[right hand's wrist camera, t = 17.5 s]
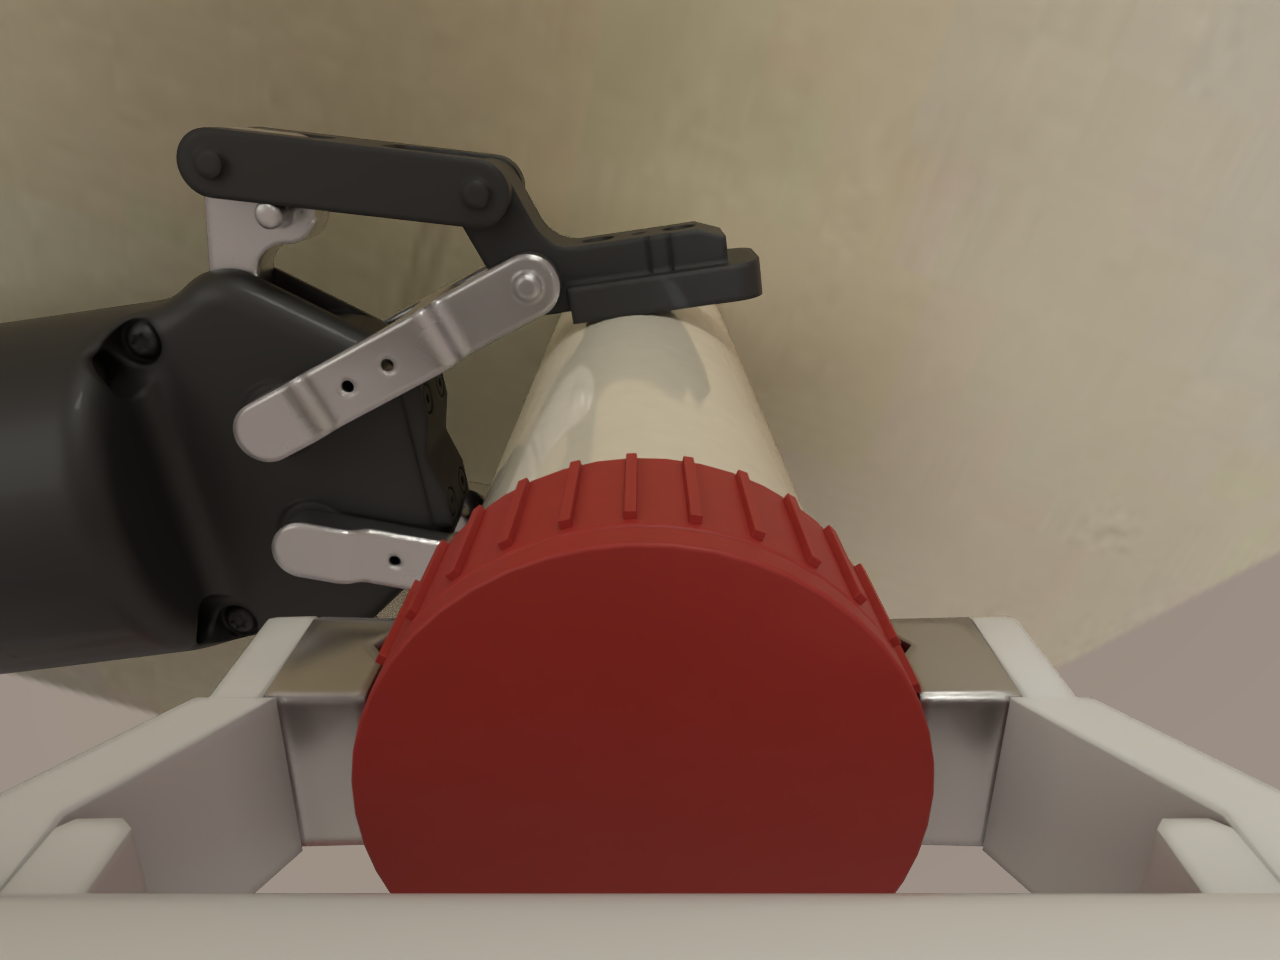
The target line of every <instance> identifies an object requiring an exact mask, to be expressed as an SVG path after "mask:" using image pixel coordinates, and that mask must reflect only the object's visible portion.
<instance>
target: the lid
mask: <svg viewBox="0 0 1280 960" xmlns="http://www.w3.org/2000/svg"><path fill="white" fill-rule="evenodd" d="M900 644H901V641H900V639H899V637H898V635H897V633H896V631H895V629H894V627H893V625H892V623H891V621H890V619H889V617H888V615H887V613H886V611H885V609H884V607H883V605H882V603H881V601H880V599H879V597H878V595H877V593H876V591H875V589H874V587H873V585H872V583H871V581H870V579H869V577H868V575H867V573H866V571H865V569H864V568H863V566H862V565H861V564H858V565H856V566H853V564H852V563H851V562H850V560H849V559H848V557H847V555H846V552H845V550H844V548H843V546H842V544H841V542H840V540H839V538H838V536H837V533H836V531H835V530H834V529H833V528H832V527H831V526H830V525H828V526H827V527H826V528H825V529H823V528H822V527H821V526H820V525H819V524H818V523H817V522H816V521H815V520H814V519H813V518H811V517H810V516H809V515H807V514H806V513H805V512H804V511H802V510H801V509H800V507H799V505H798V502H797V500H796V498H795V497H794V496H792V495H790V494H789V493H787V495H786V496H785V497H782V496H780V495H779V494H777V493H775V492H773V491H772V490H770V489H768V488H767V487H765V486H763V485H761V484H758V483H756V482H754V481H751V480H750V479H749V476H748V473H747V472H744V471H742V470H738V471H737V473H736V474H735V473H732V472H728V471H725V470H721V469H717V468H714V467H710V466H707V465H703V464H699V463H694V458H693V457H688V456H683V460H682V461H678V460H672V459H656V458H637V453H627V454H626V459H616V460H606V461H597V462H593V463H588V464H584V465H582V464H581V461H580V460H577V461H573V462H570V466H569V468H566V469H563V470H560V471H557V472H555V473H552V474H549V475H546V476H544V477H541V478H538V479H535V480H533V481H531V482H529V480H528V478H524V479H522V480H520V481H518V483H517V486H516V489H515V490H513V491H512V492H510V493H508V494H506V495H504V496H502V497H501V498H500V499H498V500H497V501H495V502H494V503H492V504H491V505H490V506H488V507H487V508H485V509H484V508H483V507H482V506H481V505H479V506H477V507H476V508H475V509H473V511H472V514H471V516H470V518H469V520H468V523H467V524H466V525H465V526H464V527H463V528H462V529H461V530H460V531H459V532H458V533H457V534H456V535H455V536H454V537H453V538H452V539H451V541H450V542H449V543H447V542H446V541H445V540H441V541H440V543H439V544H438V545H437V547H436V549H435V551H434V553H433V555H432V557H431V559H430V561H429V564H428V566H427V568H426V570H425V572H424V574H423V576H422V578H421V580H420V581H418V580H415V581H414V583H413V585H412V587H411V589H410V591H409V593H408V595H407V597H406V599H405V601H404V603H403V605H402V607H401V609H400V611H399V613H398V615H397V617H396V619H395V621H394V623H393V625H392V627H391V629H390V631H389V633H388V635H387V637H386V640H385V642H384V644H383V646H382V648H381V650H380V652H379V654H378V656H377V658H376V660H375V662H376V663H378V664H380V665H383V666H382V669H381V671H380V672H379V674H378V676H377V679H376V681H375V683H374V685H373V687H372V689H371V692H370V694H369V697H368V699H367V702H366V704H365V707H364V709H363V712H362V714H361V717H360V720H359V724H358V729H357V733H356V738H355V743H354V747H353V756H352V777H351V783H352V792H353V800H354V809H355V815H356V819H357V822H358V826H359V829H360V833H361V836H362V840H363V843H364V845H365V848H366V850H367V852H368V854H369V857H370V859H371V861H372V863H373V865H374V867H375V870H376V872H377V873H378V875H379V876H380V878H381V879H382V881H383V882H384V884H385V886H386V887H387V889H388V890H389V892H390V893H896V891H897V890H898V888H899V887H900V886H901V884H902V883H903V881H904V880H905V878H906V876H907V874H908V872H909V870H910V868H911V866H912V864H913V863H914V861H915V859H916V857H917V855H918V852H919V850H920V847H921V844H922V841H923V838H924V835H925V832H926V830H927V827H928V822H929V817H930V811H931V806H932V800H933V794H934V758H933V751H932V744H931V738H930V731H929V728H928V725H927V722H926V719H925V716H924V713H923V710H922V706H921V703H920V700H919V698H918V696H917V693H920V692H922V690H921V687H920V684H919V681H918V679H917V677H916V675H915V673H914V671H913V669H912V667H911V665H910V663H909V661H908V659H907V657H906V655H905V653H904V651H903V649H902V647H901V645H900Z"/></svg>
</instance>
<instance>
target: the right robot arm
mask: <svg viewBox="0 0 1280 960" xmlns="http://www.w3.org/2000/svg"><path fill="white" fill-rule="evenodd" d="M395 619H396V618H344V617H320V618H318V617H316V616H303V617H276V618H271V619H268V620H267V621H266V623H265V624H264V625H263V627H262V628H261V629H260V631H259V632H258V633H257V635H256V636H255V637H254V638H253V640H252V641H251V642H250V644H249V645H248V646H247V648H246V649H245V650H244V652H243V653H242V654H241V656H240V657H239V658H238V660H237V661H236V662H235V664H234V665H233V666H232V667H231V669H230V670H229V671H228V673H227V674H226V675H225V677H224V678H223V679H222V681H221V682H220V683H219V685H218V686H217V687H216V689H215V690H214V691H213V693H212V694H211V695H210V697H194V698H192V699H190V700H188V701H186V702H184V703H182V704H180V705H178V706H176V707H174V708H172V709H170V710H168V711H166V712H164V713H162V714H160V715H158V716H156V717H154V718H152V719H150V720H148V721H146V722H144V723H142V724H140V725H138V726H136V727H134V728H132V729H130V730H128V731H126V732H124V733H122V734H120V735H118V736H116V737H114V738H112V739H110V740H108V741H106V742H104V743H102V744H99V745H97V746H95V747H93V748H91V749H89V750H87V751H85V752H83V753H81V754H79V755H77V756H75V757H73V758H71V759H69V760H67V761H65V762H63V763H61V764H59V765H57V766H55V767H53V768H51V769H49V770H47V771H45V772H43V773H41V774H39V775H37V776H35V777H33V778H31V779H29V780H27V781H25V782H23V783H21V784H19V785H17V786H14V787H13V788H11V789H8V790H6V791H4V792H2V793H0V960H1280V790H1278V789H1276V788H1274V787H1272V786H1270V785H1268V784H1266V783H1264V782H1262V781H1260V780H1258V779H1256V778H1254V777H1252V776H1250V775H1247V774H1245V773H1243V772H1241V771H1239V770H1237V769H1235V768H1233V767H1231V766H1229V765H1227V764H1225V763H1223V762H1221V761H1219V760H1217V759H1215V758H1213V757H1211V756H1209V755H1207V754H1205V753H1203V752H1201V751H1199V750H1197V749H1195V748H1193V747H1191V746H1189V745H1187V744H1185V743H1183V742H1181V741H1179V740H1176V739H1174V738H1172V737H1170V736H1168V735H1166V734H1164V733H1162V732H1160V731H1158V730H1156V729H1154V728H1152V727H1150V726H1148V725H1146V724H1144V723H1142V722H1140V721H1138V720H1136V719H1134V718H1132V717H1130V716H1128V715H1126V714H1124V713H1122V712H1120V711H1118V710H1116V709H1114V708H1112V707H1110V706H1108V705H1106V704H1103V703H1101V702H1099V701H1097V700H1095V699H1093V698H1091V697H1076V696H1075V694H1074V693H1073V692H1072V690H1071V689H1070V688H1069V687H1068V685H1067V684H1066V683H1065V681H1064V680H1063V679H1062V677H1061V676H1060V675H1059V674H1058V672H1057V671H1056V670H1055V668H1054V667H1053V666H1052V664H1051V663H1050V662H1049V661H1048V659H1047V658H1046V657H1045V655H1044V654H1043V653H1042V652H1041V650H1040V649H1039V648H1038V646H1037V645H1036V644H1035V642H1034V641H1033V640H1032V639H1031V637H1030V636H1029V635H1028V633H1027V632H1026V631H1025V630H1024V628H1023V627H1022V626H1021V624H1020V623H1019V622H1018V621H1017V620H1016V619H1014V618H1012V617H1009V616H996V617H972V618H969V617H960V618H919V619H890V621H891V623H892V625H893V627H894V629H895V631H896V633H897V635H898V637H899V639H900V641H901V644H900V645H901V647H902V649H903V651H904V653H905V655H906V657H907V659H908V661H909V663H910V665H911V667H912V669H913V671H914V673H915V675H916V677H917V679H918V681H919V684H920V687H921V690H922V692H920V693H917V696H918V698H919V700H920V703H921V706H922V710H923V713H924V716H925V719H926V722H927V725H928V728H929V731H930V738H931V744H932V751H933V758H934V794H933V800H932V806H931V811H930V817H929V822H928V827H927V830H926V832H925V835H924V838H923V841H922V844H921V845H953V846H983V851H984V852H986V853H987V854H988V855H989V856H990V857H991V858H992V859H994V860H995V861H996V862H997V863H998V864H999V865H1000V866H1001V867H1003V868H1004V869H1005V870H1006V871H1007V872H1008V873H1009V874H1010V875H1012V876H1013V877H1014V878H1015V879H1016V880H1017V881H1018V882H1019V883H1021V884H1022V885H1023V886H1024V887H1025V888H1026V889H1027V890H1028V891H1030V892H1031V893H255V892H256V891H258V890H259V889H260V888H261V887H262V886H263V885H264V884H265V883H267V882H268V881H269V880H270V879H271V878H272V877H273V876H274V875H276V874H277V873H278V872H279V871H280V870H281V869H282V868H283V867H285V866H286V865H287V864H288V863H289V862H290V861H291V860H292V859H294V858H295V857H296V856H297V855H298V854H299V853H300V852H301V851H302V846H330V845H364V843H363V840H362V836H361V833H360V829H359V826H358V822H357V819H356V815H355V809H354V800H353V792H352V783H351V777H352V756H353V747H354V743H355V738H356V733H357V729H358V724H359V720H360V717H361V714H362V712H363V709H364V707H365V704H366V702H367V699H368V697H369V694H370V692H371V689H372V687H373V685H374V683H375V681H376V679H377V676H378V674H379V672H380V671H381V669H382V666H383V665H380V664H378V663H376V662H375V660H376V658H377V656H378V654H379V652H380V650H381V648H382V646H383V644H384V642H385V640H386V637H387V635H388V633H389V631H390V629H391V627H392V625H393V623H394V621H395Z"/></svg>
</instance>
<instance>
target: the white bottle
mask: <svg viewBox="0 0 1280 960" xmlns="http://www.w3.org/2000/svg"><path fill="white" fill-rule="evenodd" d="M627 453H637V458H656V459H672V460H678V461H682V460H683V456H688V457H693V458H694V463H699V464H703V465H707V466H710V467H714V468H717V469H721V470H725V471H728V472H732V473H735V474H736V473H737V471H738V470H742V471H744V472H747V473H748V476H749V479H750V480H751V481H754V482H756V483H758V484H761V485H763V486H765V487H767V488H768V489H770V490H772V491H773V492H775V493H777V494H779V495H780V496H782V497H785V496H786V495H787V493H789V494H790V495H792V496H794V497H795V498H796V500H797V502H798V505H799V507H800V509H801V510H802V511H804V510H803V507H802V505H801V503H800V500H799V498H798V495H797V493H796V491H795V488H794V486H793V484H792V481H791V479H790V477H789V474H788V472H787V469H786V467H785V465H784V462H783V460H782V458H781V455H780V453H779V451H778V448H777V446H776V443H775V441H774V439H773V436H772V434H771V432H770V429H769V427H768V425H767V422H766V420H765V418H764V415H763V413H762V410H761V408H760V406H759V403H758V401H757V399H756V396H755V394H754V392H753V389H752V387H751V384H750V382H749V380H748V377H747V375H746V373H745V370H744V368H743V366H742V363H741V361H740V358H739V356H738V354H737V351H736V349H735V347H734V344H733V342H732V340H731V337H730V335H729V333H728V330H727V328H726V325H725V323H724V321H723V318H722V316H721V314H720V311H719V309H718V307H717V305H716V304H713V305H706V306H699V307H692V308H685V309H678V310H671V311H664V312H657V313H650V314H643V315H634V316H624V317H618V318H613V319H608V320H600V321H593V322H586V323H579V324H573V319H572V313H571V311H570V312H563V313H561V315H560V318H559V320H558V322H557V325H556V327H555V330H554V332H553V335H552V337H551V339H550V342H549V344H548V347H547V349H546V352H545V354H544V356H543V359H542V361H541V364H540V366H539V369H538V371H537V373H536V376H535V378H534V381H533V383H532V386H531V388H530V390H529V393H528V395H527V398H526V400H525V403H524V405H523V407H522V410H521V412H520V415H519V417H518V420H517V422H516V424H515V427H514V429H513V432H512V434H511V437H510V439H509V442H508V444H507V446H506V449H505V451H504V454H503V456H502V459H501V461H500V463H499V466H498V468H497V471H496V473H495V476H494V478H493V480H492V483H491V485H490V488H489V490H488V493H487V495H486V497H485V500H484V502H483V505H482V507H483V508H484V509H485V508H487V507H488V506H490V505H491V504H492V503H494V502H495V501H497V500H498V499H500V498H501V497H502V496H504V495H506V494H508V493H510V492H512V491H513V490H515V489H516V486H517V483H518V481H520V480H522V479H524V478H528V480H529V482H531V481H533V480H535V479H538V478H541V477H544V476H546V475H549V474H552V473H555V472H557V471H560V470H563V469H566V468H569V466H570V462H573V461H577V460H580V461H581V464H582V465H584V464H588V463H593V462H597V461H606V460H616V459H626V454H627Z"/></svg>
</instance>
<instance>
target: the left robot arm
mask: <svg viewBox="0 0 1280 960" xmlns="http://www.w3.org/2000/svg"><path fill="white" fill-rule="evenodd" d="M177 165H178V169H179V171H180V174H181V176H182V177H183V179H184V180H185V182H186V183H187V184H188V185H189V186H190V187H191V188H192V189H193V190H194V191H196V192H197V193H199V194H201V195H203V196H205V208H206V224H207V239H208V254H209V270H210V271H209V272H206V273H204V274H202V275H200V276H198V277H196V278H195V279H194V280H192V281H191V282H190V283H189V284H188V285H187V286H186V287H185V288H183V289H182V290H181V291H180V292H179V293H178V294H176V295H175V296H173V297H172V298H169V299H165V300H159V301H152V302H146V303H139V304H132V305H125V306H118V307H111V308H104V309H98V310H91V311H84V312H77V313H70V314H63V315H56V316H50V317H43V318H36V319H29V320H22V321H15V322H8V323H1V324H0V674H5V673H13V672H22V671H30V670H38V669H46V668H54V667H62V666H70V665H78V664H86V663H94V662H102V661H110V660H118V659H126V658H134V657H142V656H150V655H158V654H167V653H175V652H183V651H190V650H196V649H201V648H206V647H210V646H213V645H217V644H221V643H224V642H228V641H231V640H235V639H238V638H242V637H246V636H251V635H257V633H258V632H259V631H260V629H261V628H262V627H263V625H264V624H265V623H266V621H267V620H268V619H271V618H276V617H303V616H316V617H318V618H320V617H344V618H378V617H377V616H376V615H377V614H378V613H379V612H380V611H381V610H382V609H383V608H385V607H386V606H387V605H388V604H389V603H390V602H391V601H392V600H393V599H394V598H395V597H396V596H397V595H398V594H399V593H400V592H401V591H403V590H404V589H408V590H410V589H411V587H412V585H413V583H414V581H415V580H418V581H420V580H421V578H422V576H423V574H424V572H425V570H426V568H427V566H428V564H429V561H430V559H431V557H432V555H433V553H434V551H435V549H436V547H437V545H438V544H439V543H440V541H441V540H445V541H446V542H447V543H449V542H450V541H451V539H452V538H453V537H454V536H455V535H456V534H457V533H458V532H459V531H460V530H461V529H462V528H463V527H464V526H465V525H466V524H467V523H468V520H469V518H470V516H471V514H472V511H473V509H475V508H476V507H477V506H479V505H481V506H482V505H483V502H484V500H485V497H486V495H487V493H488V490H489V488H490V485H487V484H482V483H476V482H471V481H467V478H466V474H465V469H464V465H463V460H462V458H461V456H460V454H459V452H458V450H457V449H456V447H455V445H454V443H453V441H452V439H451V437H450V435H449V433H448V432H447V429H446V409H447V390H446V386H445V382H444V377H443V372H445V371H446V370H448V369H450V368H451V367H453V366H454V365H456V364H457V363H459V362H460V361H461V360H463V359H464V358H466V357H467V356H469V355H470V354H472V353H474V352H475V351H477V350H479V349H481V348H483V347H485V346H487V345H489V344H490V343H492V342H494V341H496V340H498V339H500V338H502V337H504V336H506V335H507V334H509V333H511V332H513V331H515V330H517V329H519V328H521V327H523V326H524V325H526V324H528V323H530V322H532V321H534V320H536V319H538V318H540V317H541V316H543V315H549V314H556V313H563V312H570V311H571V313H572V319H573V324H579V323H586V322H593V321H600V320H608V319H613V318H618V317H624V316H634V315H643V314H650V313H657V312H664V311H671V310H678V309H685V308H692V307H699V306H706V305H713V304H720V303H727V302H734V301H741V300H747V299H751V298H755V297H757V296H760V295H761V294H762V284H761V274H760V263H759V257H758V256H757V255H756V253H755V252H754V251H753V250H752V249H751V248H733V249H727V245H726V236H725V234H724V233H723V232H722V230H721V229H720V228H718V227H714V226H710V225H706V224H702V223H698V222H694V221H693V222H687V223H680V224H673V225H667V226H659V227H653V228H647V229H639V230H632V231H625V232H619V233H612V234H605V235H598V236H591V237H585V238H569V237H565V236H562V235H560V234H558V233H556V232H554V231H553V230H552V229H550V228H549V227H548V226H547V225H546V223H545V222H544V221H543V219H542V218H541V216H540V214H539V213H538V211H537V209H536V207H535V205H534V203H533V202H532V200H531V198H530V196H529V194H528V193H527V191H526V189H525V181H524V177H523V174H522V172H521V170H520V169H519V167H518V166H517V165H516V164H515V163H514V162H513V161H512V160H510V159H509V158H507V157H505V156H502V155H496V154H488V153H479V152H471V151H462V150H454V149H445V148H436V147H428V146H419V145H411V144H402V143H394V142H385V141H377V140H368V139H360V138H351V137H342V136H334V135H325V134H317V133H308V132H300V131H291V130H283V129H274V128H266V127H203V128H197V129H194V130H192V131H190V132H188V133H187V134H186V135H185V136H184V137H183V138H182V140H181V141H180V143H179V146H178V149H177ZM329 211H330V212H339V213H347V214H356V215H365V216H374V217H383V218H391V219H400V220H409V221H418V222H427V223H435V224H444V225H453V226H462V227H463V228H464V230H465V231H466V233H467V235H468V236H469V238H470V240H471V242H472V243H473V245H474V247H475V248H476V250H477V252H478V253H479V255H480V257H481V259H482V260H483V262H484V264H485V265H484V266H483V267H481V268H479V269H477V270H475V271H473V272H472V273H470V274H468V275H466V276H464V277H462V278H460V279H458V280H455V281H453V282H451V283H449V284H447V285H445V286H444V287H442V288H440V289H438V290H436V291H434V292H433V293H431V294H429V295H427V296H425V297H423V298H422V299H420V300H418V301H416V302H414V303H412V304H411V305H409V306H407V307H405V308H403V309H401V310H400V311H398V312H396V313H394V314H392V315H391V316H389V317H387V318H385V319H383V320H380V319H378V318H376V317H374V316H372V315H370V314H368V313H366V312H364V311H362V310H360V309H358V308H356V307H354V306H352V305H350V304H348V303H346V302H344V301H342V300H340V299H338V298H336V297H334V296H332V295H330V294H328V293H326V292H324V291H322V290H320V289H318V288H316V287H314V286H312V285H310V284H308V283H306V282H304V281H302V280H300V279H298V278H296V277H294V276H292V275H290V274H288V273H286V272H284V271H282V270H280V269H277V268H275V267H274V258H275V255H276V253H277V251H278V250H279V248H280V247H281V246H282V245H283V244H292V243H296V242H299V241H302V240H305V239H308V238H311V237H313V236H316V235H317V234H319V233H320V232H321V231H322V230H323V229H324V227H325V226H326V224H327V221H328V218H329ZM466 508H467V509H466Z"/></svg>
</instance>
